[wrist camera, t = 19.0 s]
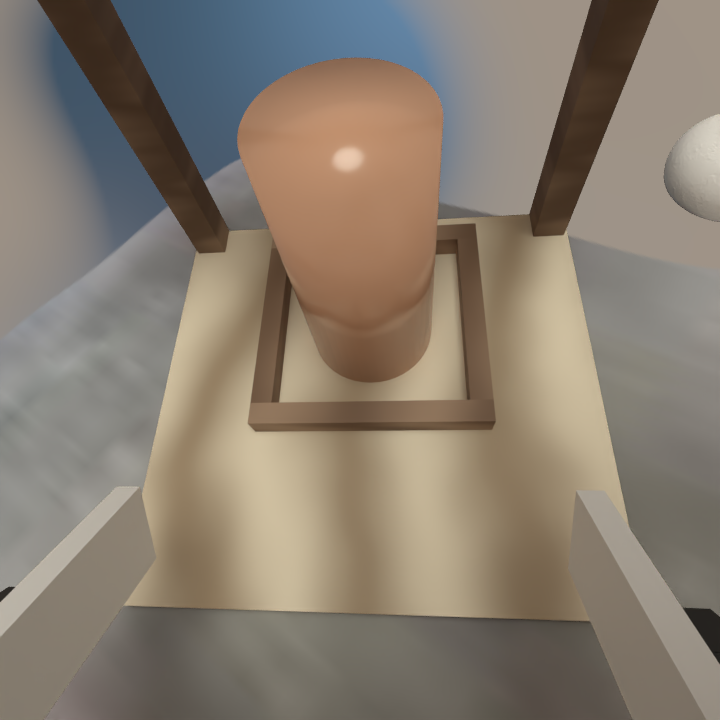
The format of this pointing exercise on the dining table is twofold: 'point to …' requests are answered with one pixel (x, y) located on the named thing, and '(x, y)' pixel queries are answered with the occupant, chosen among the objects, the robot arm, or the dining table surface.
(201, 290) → the wooden c-frame stand
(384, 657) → the dining table surface
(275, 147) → the tan cylinder
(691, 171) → the garlic bulb
